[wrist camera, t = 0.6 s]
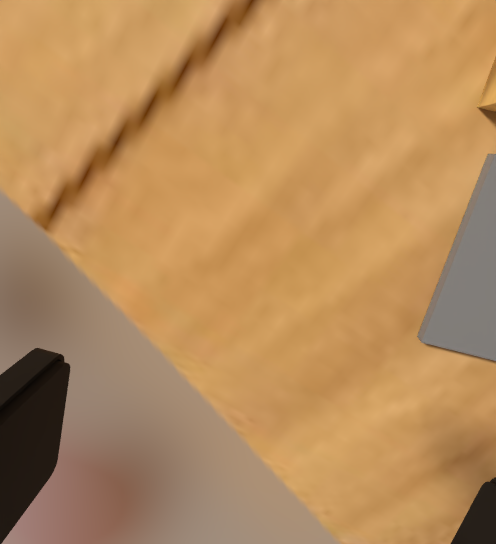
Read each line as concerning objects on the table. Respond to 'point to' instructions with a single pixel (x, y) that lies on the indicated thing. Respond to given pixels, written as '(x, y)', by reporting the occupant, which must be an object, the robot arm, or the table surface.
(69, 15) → the table surface
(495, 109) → the mustard block
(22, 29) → the table surface
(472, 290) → the plate
